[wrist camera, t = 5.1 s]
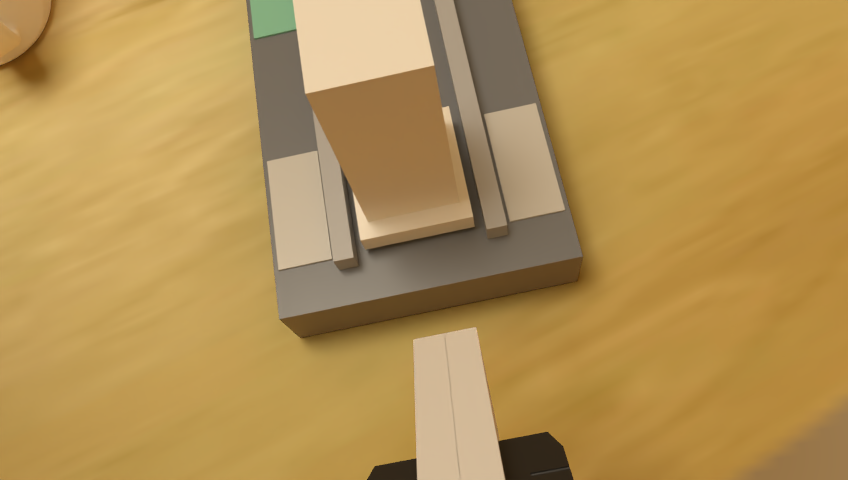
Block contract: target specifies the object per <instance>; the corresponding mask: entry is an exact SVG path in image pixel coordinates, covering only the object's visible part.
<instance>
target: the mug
mask: <svg viewBox="0 0 848 480" xmlns="http://www.w3.org/2000/svg"><path fill="white" fill-rule="evenodd" d="M50 10H51V0H0V65H3V64H5V63H7V62H10V61H12V60H13V59H15V58H17V57H18V56H20V55H21V54H23V53H24V52H25V51H26V50H28V49H29V48H30V47H31V46H32V45H33V44H34V42H35V41H36V40H37V39H38V37H39V36H40V35H41V33H42V31H43V29H44V28H45V25H46V23H47V21H48V18H49V14H50Z"/></svg>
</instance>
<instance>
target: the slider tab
mask: <svg viewBox="0 0 848 480" xmlns="http://www.w3.org/2000/svg"><path fill="white" fill-rule="evenodd" d="M293 7H294V14H295V22H296V29H297V37H298V44H299V51H300V59H301V66H302V74H303V81H304V89H305V95H306V97H307V99H308V101H309V103H310V105H311V107H312V109H313V111H314V113H315V115H316V117H317V119H318V121H319V123H320V125H321V127H322V129H323V131H324V133H325V135H326V137H327V139H328V142H329V144H330V146H331V148H332V150H333V152H334V154H335V156H336V158H337V160H338V162H339V164H340V166H341V168H342V170H343V172H344V174H345V176H346V178H347V180H348V182H349V184H350V186H351V188H352V191H353V197H354V203H355V209H356V216H357V222H358V229H359V235H360V241H361V243H362V245H363V246H364V248H365V250H367V249H371V248H376V247H381V246H386V245H390V244H395V243H400V242H405V241H409V240H414V239H419V238H424V237H428V236H433V235H438V234H443V233H447V232H452V231H457V230H462V229H467V228H471V227H475V225H474V218H473V213H472V209H471V204H470V200H469V195H468V191H467V186H466V182H465V177H464V173H463V168H462V164H461V159H460V155H459V150H458V146H457V141H456V137H455V132H454V128H453V123H452V118H451V114H450V109H449V106H447V107H442V105H441V99H440V94H439V88H438V83H437V77H436V72H435V66H434V61H433V57H432V52H431V48H430V43H429V39H428V34H427V29H426V25H425V20H424V16H423V11H422V6H421V2H420V0H293Z"/></svg>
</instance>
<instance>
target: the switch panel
mask: <svg viewBox="0 0 848 480" xmlns="http://www.w3.org/2000/svg"><path fill="white" fill-rule="evenodd" d="M246 2H247V12H248V22H249V31H250V41H251V51H252V60H253V70H254V80H255V89H256V99H257V109H258V118H259V128H260V138H261V147H262V157H263V167H264V176H265V186H266V196H267V205H268V215H269V225H270V234H271V244H272V254H273V263H274V273H275V283H276V292H277V302H278V312H279V319H280V320H281V321H282V322H283V323H284V324H285V325H286V326H288V327H289V328H290V329H291V330H292V331H293V332H294V333H295V334H297V335H298V336H299V337H300V338H302V337H307V336H312V335H317V334H322V333H327V332H331V331H336V330H341V329H346V328H351V327H356V326H361V325H365V324H370V323H375V322H380V321H385V320H390V319H395V318H400V317H404V316H409V315H414V314H419V313H424V312H429V311H434V310H438V309H443V308H448V307H453V306H458V305H463V304H468V303H473V302H477V301H482V300H487V299H492V298H497V297H502V296H507V295H511V294H516V293H521V292H526V291H531V290H536V289H541V288H546V287H550V286H555V285H560V284H565V283H570V282H575V281H577V280H578V276H579V271H580V267H581V263H582V258H583V255H582V251H581V248H580V244H579V240H578V237H577V233H576V230H575V226H574V222H573V219H572V215H571V212H570V208H569V205H568V201H567V197H566V194H565V190H564V187H563V183H562V179H561V176H560V172H559V169H558V165H557V161H556V158H555V154H554V151H553V147H552V143H551V140H550V136H549V133H548V129H547V126H546V122H545V118H544V115H543V111H542V108H541V104H540V100H539V97H538V93H537V90H536V86H535V82H534V79H533V75H532V72H531V68H530V64H529V61H528V57H527V54H526V50H525V47H524V43H523V39H522V36H521V32H520V29H519V25H518V21H517V18H516V14H515V11H514V7H513V3H512V0H420V2H421V6H422V11H423V16H424V20H425V25H426V29H427V34H428V39H429V43H430V48H431V52H432V57H433V61H434V66H435V72H436V77H437V83H438V88H439V94H440V99H441V105H442V107H447V106H449V109H450V114H451V118H452V123H453V128H454V132H455V137H456V141H457V146H458V150H459V155H460V159H461V164H462V168H463V173H464V177H465V182H466V186H467V191H468V195H469V200H470V204H471V209H472V213H473V218H474V225H475V227H471V228H467V229H462V230H457V231H452V232H447V233H443V234H438V235H433V236H428V237H424V238H419V239H414V240H409V241H405V242H400V243H395V244H390V245H386V246H381V247H376V248H371V249H367V250H365V248H364V246H363V245H362V243H361V241H360V235H359V229H358V222H357V216H356V209H355V203H354V197H353V191H352V188H351V186H350V184H349V182H348V180H347V178H346V176H345V174H344V172H343V170H342V168H341V166H340V164H339V162H338V160H337V158H336V156H335V154H334V152H333V150H332V148H331V146H330V144H329V142H328V139H327V137H326V135H325V133H324V131H323V129H322V127H321V125H320V123H319V121H318V119H317V117H316V115H315V113H314V111H313V109H312V107H311V105H310V103H309V101H308V99H307V97H306V95H305V89H304V81H303V74H302V66H301V59H300V51H299V44H298V37H297V29H296V22H295V14H294V7H293V0H246Z"/></svg>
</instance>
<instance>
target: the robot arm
mask: <svg viewBox="0 0 848 480" xmlns="http://www.w3.org/2000/svg"><path fill="white" fill-rule="evenodd" d="M413 345H414V382H415V419H416V456H417V458H416V459H411V460H406V461H400V462H395V463H390V464H384V465H379V466H375V467H374V469H373V470H372V472H371V474H370V476H369V477H368V479H367V480H573V476H572V473H571V470H570V468H569V464H568V461H567V457H566V454H565V451H564V448H563V446H562V445H561V444H560V443H559V442H558V441H557V440H556V439H555V438H553V437H552V436H551V435H550V434H549V433H548V432H544V433H539V434H534V435H528V436H523V437H518V438H512V439H507V440H502V441H500V440H499V435H498V430H497V425H496V420H495V415H494V410H493V405H492V401H491V396H490V391H489V386H488V381H487V377H486V372H485V367H484V362H483V358H482V353H481V348H480V343H479V339H478V334H477V329H476V327H474V328H469V329H464V330H459V331H454V332H449V333H444V334H438V335H433V336H428V337H423V338H418V339H413Z"/></svg>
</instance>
